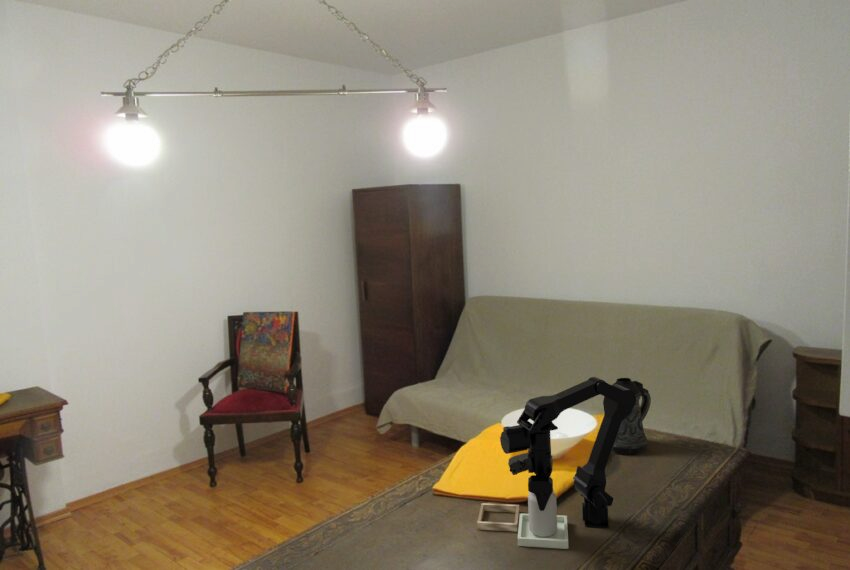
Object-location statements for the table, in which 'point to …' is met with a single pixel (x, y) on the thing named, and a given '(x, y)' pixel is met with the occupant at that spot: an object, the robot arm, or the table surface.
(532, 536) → the tray
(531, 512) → the can
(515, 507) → the holder
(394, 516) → the table surface
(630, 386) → the beer stein
